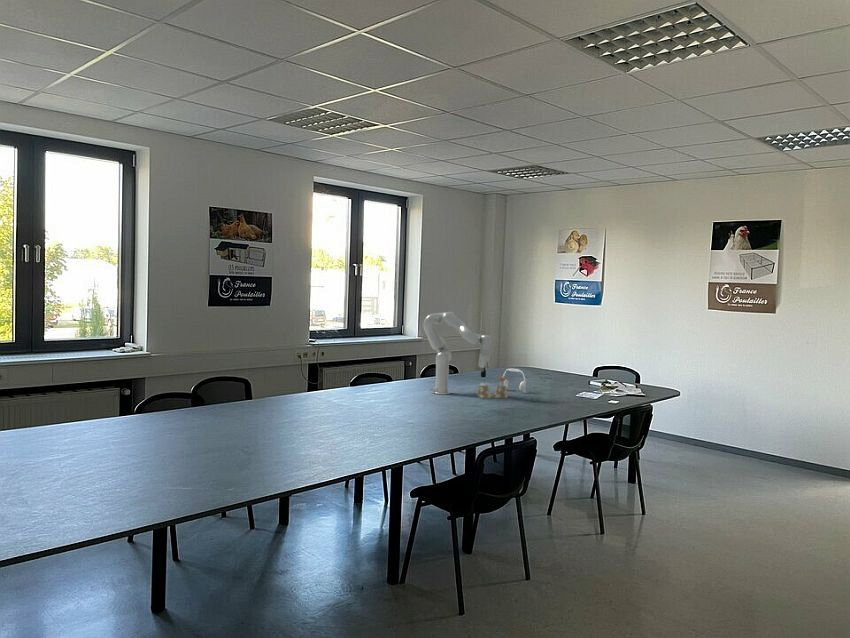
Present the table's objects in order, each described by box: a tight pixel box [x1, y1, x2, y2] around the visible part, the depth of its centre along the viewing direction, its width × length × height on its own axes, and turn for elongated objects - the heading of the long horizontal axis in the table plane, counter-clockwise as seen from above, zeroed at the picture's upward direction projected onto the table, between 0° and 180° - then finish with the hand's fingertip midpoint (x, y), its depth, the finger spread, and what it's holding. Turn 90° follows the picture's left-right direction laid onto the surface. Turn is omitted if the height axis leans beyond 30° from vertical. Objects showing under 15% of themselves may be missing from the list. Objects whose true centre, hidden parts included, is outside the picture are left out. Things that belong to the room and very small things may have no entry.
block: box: [476, 385, 509, 399], centre depth 466 cm, size 20×10×8 cm, turn 107°
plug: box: [479, 382, 489, 387], centre depth 464 cm, size 5×5×8 cm
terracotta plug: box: [498, 376, 507, 387], centre depth 468 cm, size 5×5×8 cm
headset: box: [502, 368, 527, 394], centre depth 492 cm, size 20×7×18 cm, turn 53°
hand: (483, 377), depth 464 cm, fingers closed
